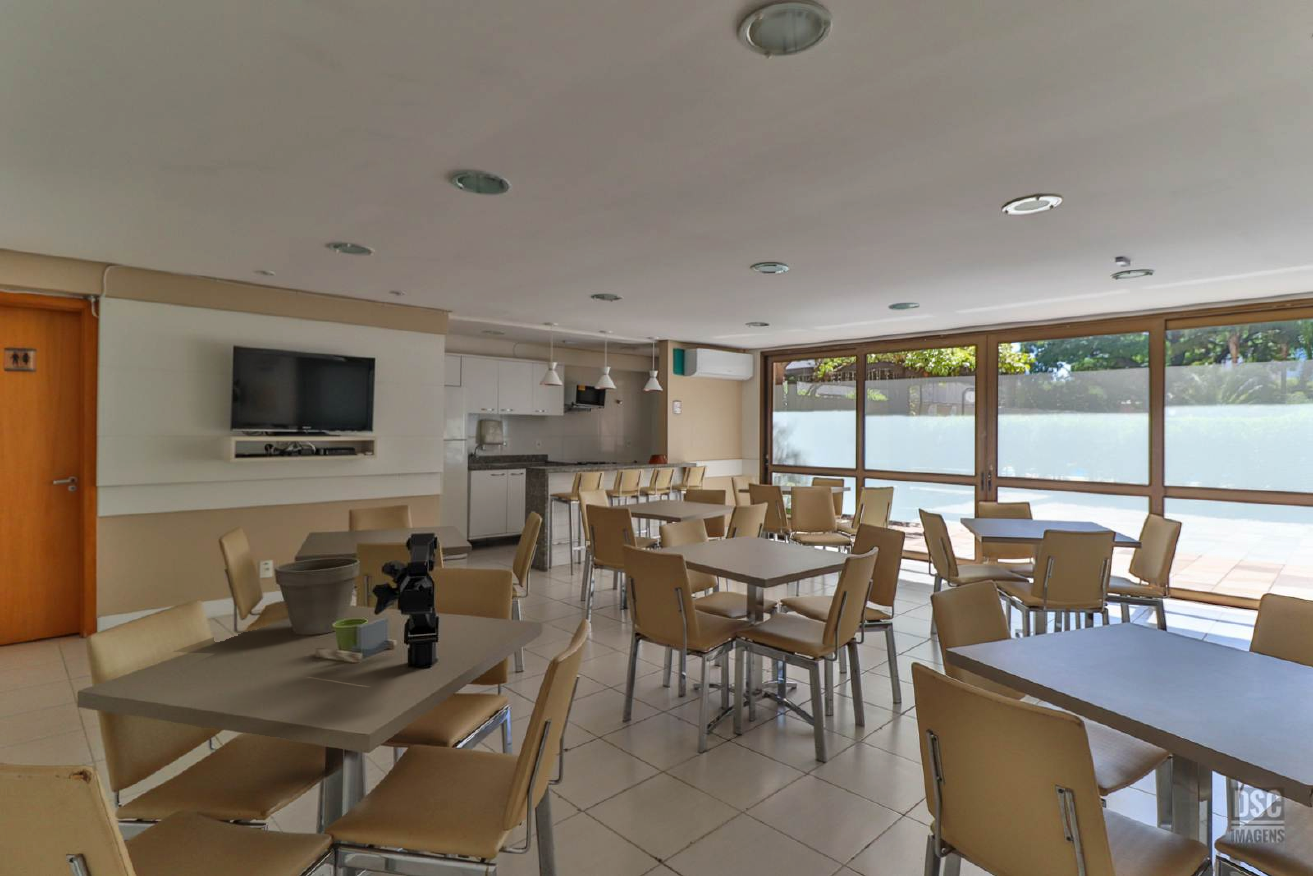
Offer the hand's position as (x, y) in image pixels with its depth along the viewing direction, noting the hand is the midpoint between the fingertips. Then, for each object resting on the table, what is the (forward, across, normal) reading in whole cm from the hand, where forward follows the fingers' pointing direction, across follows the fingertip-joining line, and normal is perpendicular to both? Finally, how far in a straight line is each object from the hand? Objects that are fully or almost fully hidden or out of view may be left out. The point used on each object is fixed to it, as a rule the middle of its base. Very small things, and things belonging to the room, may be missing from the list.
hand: (387, 610), depth 188 cm
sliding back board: (+13, 0, +4) cm, 14 cm away
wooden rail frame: (+17, 0, +1) cm, 17 cm away
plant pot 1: (+37, -16, -23) cm, 47 cm away
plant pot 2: (+18, 0, -1) cm, 19 cm away
